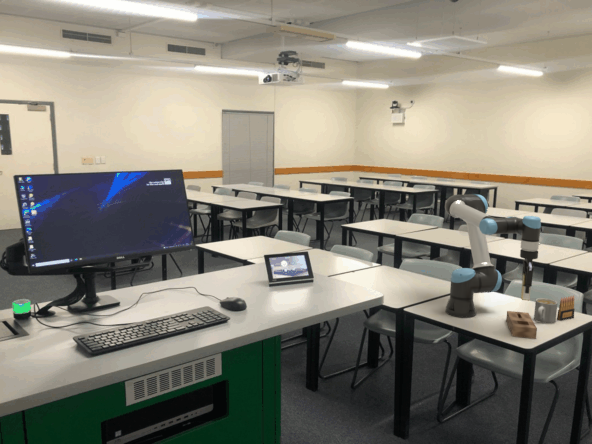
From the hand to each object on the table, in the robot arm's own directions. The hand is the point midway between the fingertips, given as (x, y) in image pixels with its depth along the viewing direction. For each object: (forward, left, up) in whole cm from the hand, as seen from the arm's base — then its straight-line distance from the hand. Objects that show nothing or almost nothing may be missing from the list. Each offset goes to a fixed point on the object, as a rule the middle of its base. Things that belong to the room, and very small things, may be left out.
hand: (525, 298), depth 235 cm
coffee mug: (+13, +21, -17) cm, 30 cm away
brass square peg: (0, 0, -1) cm, 1 cm away
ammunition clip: (+25, +27, -17) cm, 41 cm away
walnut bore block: (0, +5, -17) cm, 18 cm away
